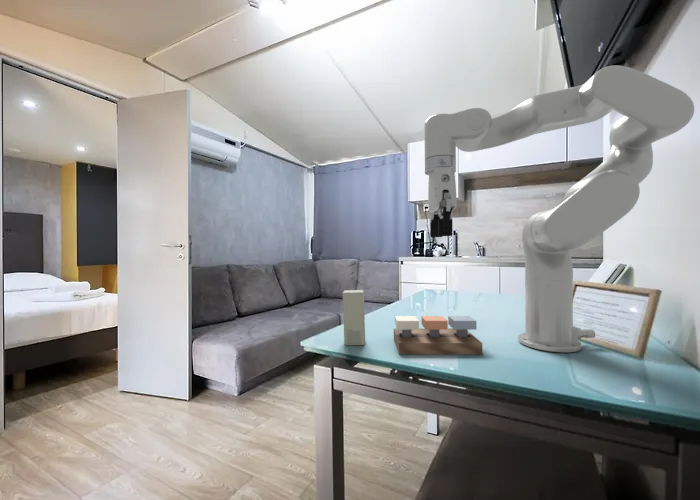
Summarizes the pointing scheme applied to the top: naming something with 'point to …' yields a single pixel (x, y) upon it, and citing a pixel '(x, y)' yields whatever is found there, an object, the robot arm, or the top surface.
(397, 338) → the walnut board
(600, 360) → the top surface
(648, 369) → the top surface
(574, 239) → the robot arm
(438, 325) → the terracotta key
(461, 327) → the slate key
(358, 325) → the box
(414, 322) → the cream key
